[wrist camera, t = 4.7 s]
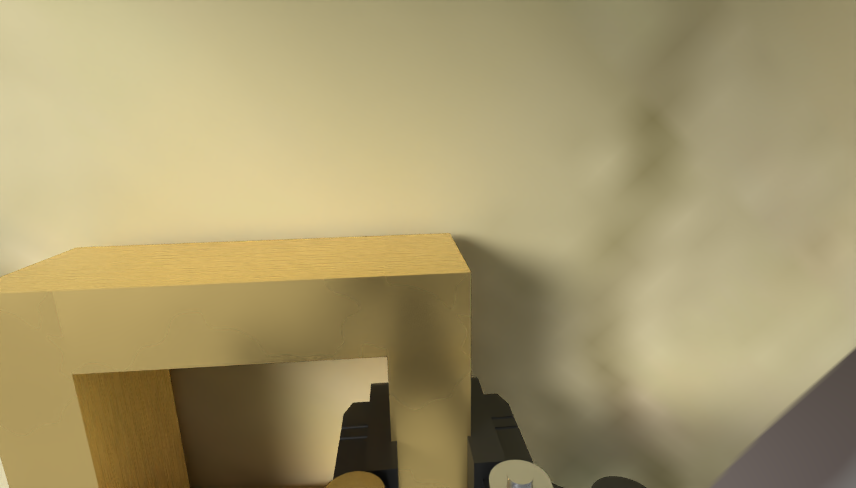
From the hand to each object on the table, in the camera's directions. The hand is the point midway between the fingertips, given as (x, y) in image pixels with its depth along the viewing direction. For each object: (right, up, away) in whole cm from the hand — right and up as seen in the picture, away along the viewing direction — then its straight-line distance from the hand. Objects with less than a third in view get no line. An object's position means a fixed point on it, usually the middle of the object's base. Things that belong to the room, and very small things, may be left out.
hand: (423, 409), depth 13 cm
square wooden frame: (-4, 0, +1) cm, 4 cm away
